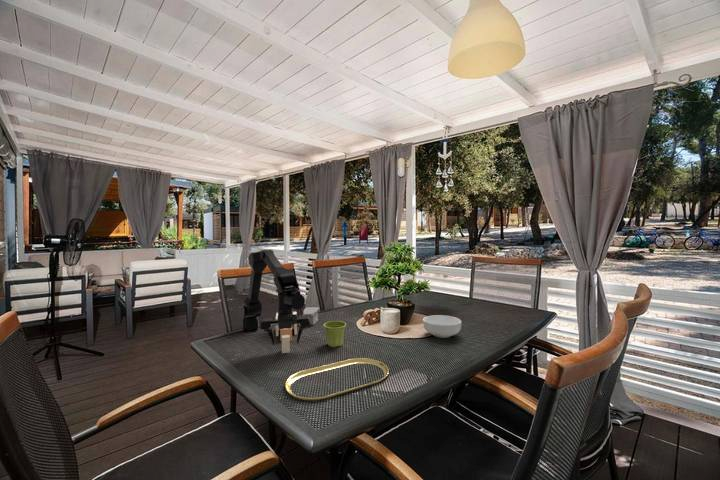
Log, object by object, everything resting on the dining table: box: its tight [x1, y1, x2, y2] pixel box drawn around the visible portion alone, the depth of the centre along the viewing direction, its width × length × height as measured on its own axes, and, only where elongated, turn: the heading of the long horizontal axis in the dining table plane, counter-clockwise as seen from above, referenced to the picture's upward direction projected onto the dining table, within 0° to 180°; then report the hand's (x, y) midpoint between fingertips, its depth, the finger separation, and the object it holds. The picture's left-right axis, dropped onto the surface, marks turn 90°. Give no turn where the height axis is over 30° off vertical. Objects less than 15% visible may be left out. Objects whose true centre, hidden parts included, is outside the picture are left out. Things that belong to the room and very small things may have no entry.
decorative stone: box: [302, 306, 320, 327], centre depth 164 cm, size 15×7×10 cm
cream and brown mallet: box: [279, 328, 293, 354], centre depth 133 cm, size 5×18×6 cm, turn 12°
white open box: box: [275, 311, 298, 337], centre depth 149 cm, size 9×10×8 cm
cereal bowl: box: [422, 314, 462, 339], centre depth 144 cm, size 17×17×7 cm
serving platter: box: [284, 357, 390, 401], centre depth 103 cm, size 19×35×2 cm, turn 120°
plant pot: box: [323, 320, 347, 348], centre depth 132 cm, size 9×9×9 cm
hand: (285, 343), depth 125 cm, fingers open, 9 cm apart
